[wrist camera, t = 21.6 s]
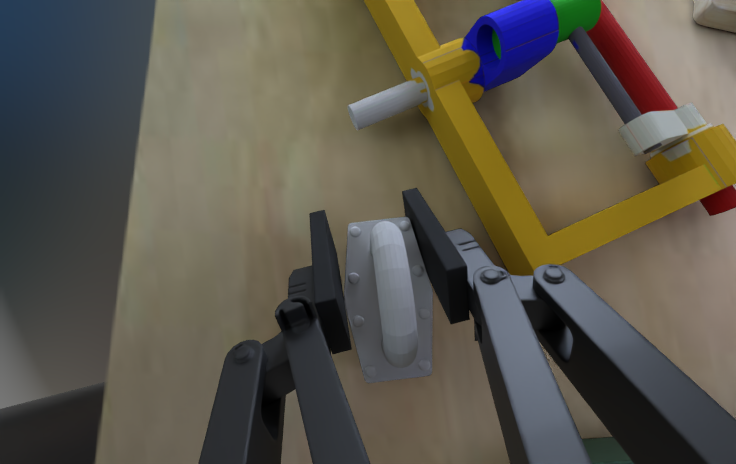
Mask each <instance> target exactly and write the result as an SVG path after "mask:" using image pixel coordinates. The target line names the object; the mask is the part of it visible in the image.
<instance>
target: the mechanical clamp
mask: <svg viewBox="0 0 736 464" xmlns="http://www.w3.org/2000/svg"><path fill="white" fill-rule="evenodd" d="M364 2H365V4H366V5H367V7H368V9H369V11H370V13H371V15H372V17H373V19H374V20H375V22H376V24H377V26H378V28H379V30H380V32H381V34H382V36H383V37H384V39H385V41H386V43H387V45H388V47H389V49H390V51H391V52H392V54H393V56H394V58H395V60H396V62H397V64H398V66H399V67H400V69H401V71H402V73H403V75H404V77H405V79H406V81H407V82H404V83H402V84H399V85H397V86H394V87H392V88H390V89H387V90H385V91H382V92H380V93H377V94H375V95H372V96H370V97H367V98H365V99H363V100H360V101H358V102H355V103H353V104H350V105H348V111H349V115H350V118H351V120H352V122H353V125H354V127H355V128H356V130H360V129H362V128H365V127H367V126H369V125H372V124H374V123H377V122H379V121H382V120H384V119H386V118H389V117H391V116H394V115H396V114H398V113H401V112H403V111H406V110H408V109H410V108H413V107H415V106H418V108H419V109H420V111H421V113H422V114H423V115H424V116H425V117H426V118H427V120H428V122H429V124H430V126H431V127H432V129H433V131H434V133H435V135H436V137H437V139H438V141H439V142H440V144H441V146H442V148H443V150H444V152H445V154H446V156H447V157H448V159H449V161H450V163H451V165H452V167H453V169H454V171H455V172H456V174H457V176H458V178H459V180H460V182H461V184H462V186H463V187H464V189H465V191H466V193H467V195H468V197H469V199H470V201H471V202H472V204H473V206H474V208H475V210H476V212H477V214H478V216H479V218H480V219H481V221H482V223H483V225H484V227H485V229H486V231H487V233H488V234H489V236H490V238H491V240H492V242H493V244H494V246H495V248H496V249H497V251H498V253H499V255H500V257H501V259H502V261H503V263H504V264H505V266H506V268H507V270H508V272H509V274H510V275H517V276H531V275H533V274H534V271H535V269H536V268H537V267H539V266H541V265H546V264H556V265H561V264H564V263H566V262H568V261H570V260H572V259H574V258H576V257H578V256H581V255H583V254H585V253H587V252H589V251H591V250H593V249H596V248H598V247H600V246H602V245H604V244H606V243H608V242H610V241H613V240H615V239H617V238H619V237H621V236H623V235H625V234H628V233H630V232H632V231H634V230H636V229H638V228H640V227H642V226H645V225H647V224H649V223H651V222H653V221H655V220H657V219H660V218H662V217H664V216H666V215H668V214H670V213H672V212H674V211H677V210H679V209H681V208H683V207H685V206H687V205H689V204H691V203H694V202H696V201H698V200H700V202H701V203H702V205H703V206H704V208H705V209H706V210H707V212H708V213H709V215H710V216H712V215H716V214H719V213H722V212H725V211H728V210H730V209H733V208H735V207H736V190H735V188H734V187H733V186H732V185H733V184H735V183H736V141H735V139H734V138H733V137H732V135H731V134H730V132H729V131H728V130H727V128H726V127H725V126H724V124H721V125H719V126H716V127H714V126H713V125H712V124H708V125H707V123H706V122H705V121H704V119H703V118H702V116H701V115H700V114H699V112H698V111H697V109H696V108H695V107H694V105H693V104H692V103H689V104H686V105H684V106H681V107H679V108H677V106H676V105H675V103H674V102H673V100H672V99H671V98H670V96H669V95H668V93H667V92H666V91H665V89H664V88H663V86H662V85H661V83H660V82H659V81H658V79H657V78H656V76H655V75H654V73H653V72H652V71H651V69H650V68H649V66H648V65H647V64H646V62H645V61H644V59H643V58H642V56H641V55H640V54H639V52H638V51H637V49H636V48H635V47H634V45H633V44H632V42H631V41H630V39H629V38H628V37H627V35H626V34H625V32H624V31H623V29H622V28H621V27H620V25H619V24H618V22H617V21H616V20H615V18H614V17H613V15H612V14H611V12H610V11H609V10H608V8H607V7H606V5H605V4H604V3H603V1H602V0H522V1H520V2H517V3H515V4H512V5H510V6H507V7H505V8H502V9H499V10H497V11H494V12H492V13H489V14H487V15H484V16H482V17H480V18H479V19H478V20H477V21H476V23H475V24H474V26H473V27H472V28H471V30H470V31H469V32H468V34H467V35H466V37H465V38H459V39H456V40H454V41H451V42H449V43H446V44H444V45H441V46H439V44H438V42H437V40H436V38H435V37H434V35H433V33H432V31H431V30H430V28H429V26H428V24H427V23H426V21H425V19H424V17H423V16H422V14H421V12H420V10H419V9H418V7H417V5H416V3H415V2H414V0H364ZM567 39H569V40H570V42H571V43H572V45H573V46H574V48H575V49H576V51H577V52H578V54H579V56H580V57H581V59H582V60H583V62H584V63H585V65H586V66H587V68H588V69H589V71H590V72H591V74H592V75H593V77H594V78H595V80H596V81H597V83H598V84H599V86H600V87H601V89H602V90H603V92H604V93H605V95H606V96H607V98H608V99H609V101H610V102H611V104H612V105H613V107H614V108H615V110H616V111H617V113H618V114H619V116H620V117H621V119H622V120H623V122H624V123H625V125H624V126H622V127H621V128H620V129H619V130H618V131H619V133H620V134H621V136H622V137H623V139H624V140H625V142H626V143H627V145H628V146H629V148H630V150H631V151H632V153H633V154H634V156H636V155H640V154H647V153H649V152H652V153H651V154H650V157H651V158H652V159H650V160H648V161H647V162H646V165H647V166H648V168H649V169H650V171H651V172H652V174H653V175H654V177H655V178H656V180H657V181H658V183H659V185H657V186H655V187H653V188H650V189H648V190H646V191H644V192H642V193H639V194H637V195H635V196H633V197H631V198H629V199H626V200H624V201H622V202H620V203H618V204H616V205H613V206H611V207H609V208H607V209H605V210H603V211H600V212H598V213H596V214H594V215H592V216H590V217H587V218H585V219H583V220H581V221H579V222H576V223H574V224H572V225H570V226H568V227H566V228H563V229H561V230H559V231H557V232H555V233H553V234H550V235H547V234H546V232H545V230H544V228H543V227H542V225H541V223H540V221H539V220H538V218H537V216H536V214H535V212H534V211H533V209H532V207H531V205H530V204H529V202H528V200H527V198H526V197H525V195H524V193H523V191H522V190H521V188H520V186H519V184H518V183H517V181H516V179H515V177H514V176H513V174H512V172H511V170H510V169H509V167H508V165H507V163H506V162H505V160H504V158H503V156H502V154H501V153H500V151H499V149H498V147H497V146H496V144H495V142H494V140H493V139H492V137H491V135H490V133H489V132H488V130H487V128H486V126H485V125H484V123H483V121H482V119H481V118H480V116H479V114H478V112H477V111H476V109H475V107H474V105H473V104H472V103H474V102H476V101H478V100H479V99H480V98H481V97H482V94H483V92H485V91H487V90H489V89H492V88H494V87H497V86H499V85H501V84H504V83H506V82H509V81H511V80H513V79H516V78H518V77H520V76H521V75H522V74H524V73H525V72H526V71H528V70H529V69H530V68H532V67H533V66H534V65H536V64H537V63H538V62H539V61H541V60H542V59H543V58H545V57H546V56H547V55H549V54H550V53H551V52H552V51H553V49H554V48H555V46H556V44H557V43H560V42H562V41H565V40H567Z"/></svg>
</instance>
